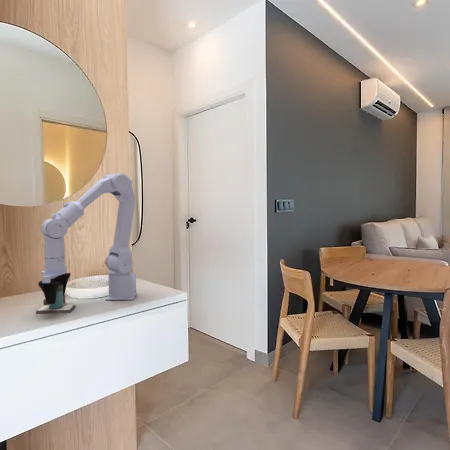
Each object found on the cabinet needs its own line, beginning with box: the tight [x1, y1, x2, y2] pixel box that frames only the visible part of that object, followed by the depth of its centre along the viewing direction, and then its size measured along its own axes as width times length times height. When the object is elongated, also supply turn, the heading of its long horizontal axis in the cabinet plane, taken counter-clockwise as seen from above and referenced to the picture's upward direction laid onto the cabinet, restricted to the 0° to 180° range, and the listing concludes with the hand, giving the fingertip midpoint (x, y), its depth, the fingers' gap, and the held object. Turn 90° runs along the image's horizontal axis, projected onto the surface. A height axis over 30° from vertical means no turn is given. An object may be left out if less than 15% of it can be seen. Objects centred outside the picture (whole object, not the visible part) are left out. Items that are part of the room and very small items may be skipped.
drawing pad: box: [35, 304, 77, 315], centre depth 103 cm, size 10×5×1 cm, turn 97°
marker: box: [49, 284, 64, 309], centre depth 103 cm, size 4×4×7 cm
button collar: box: [42, 294, 66, 306], centre depth 108 cm, size 5×5×2 cm
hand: (56, 299), depth 103 cm, fingers open, 7 cm apart
